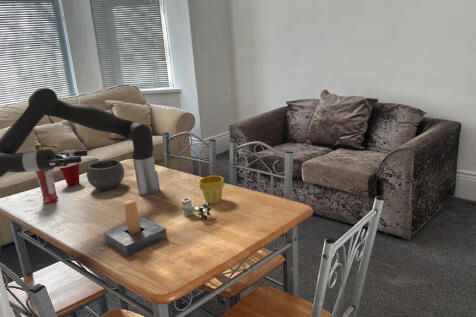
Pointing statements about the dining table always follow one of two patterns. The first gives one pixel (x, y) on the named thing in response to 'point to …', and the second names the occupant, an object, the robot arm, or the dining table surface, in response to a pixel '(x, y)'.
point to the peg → (132, 217)
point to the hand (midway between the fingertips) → (84, 155)
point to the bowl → (105, 174)
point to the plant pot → (212, 188)
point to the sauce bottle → (46, 182)
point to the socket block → (135, 237)
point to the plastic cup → (71, 173)
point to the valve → (194, 208)
